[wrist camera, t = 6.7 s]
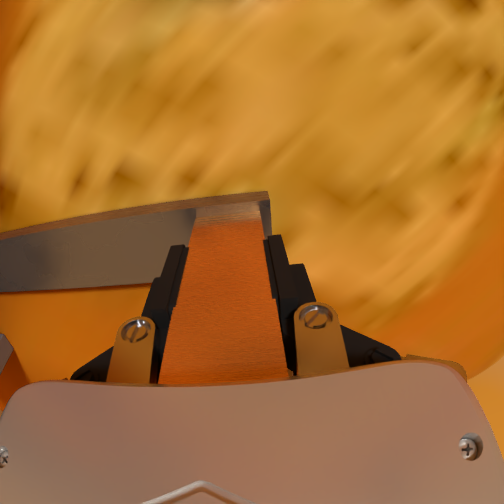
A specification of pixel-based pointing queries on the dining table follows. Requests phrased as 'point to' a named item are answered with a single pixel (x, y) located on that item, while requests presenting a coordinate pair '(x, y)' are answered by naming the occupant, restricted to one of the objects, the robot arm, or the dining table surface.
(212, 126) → the dining table surface
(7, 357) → the grey bridge block
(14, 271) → the scraper
